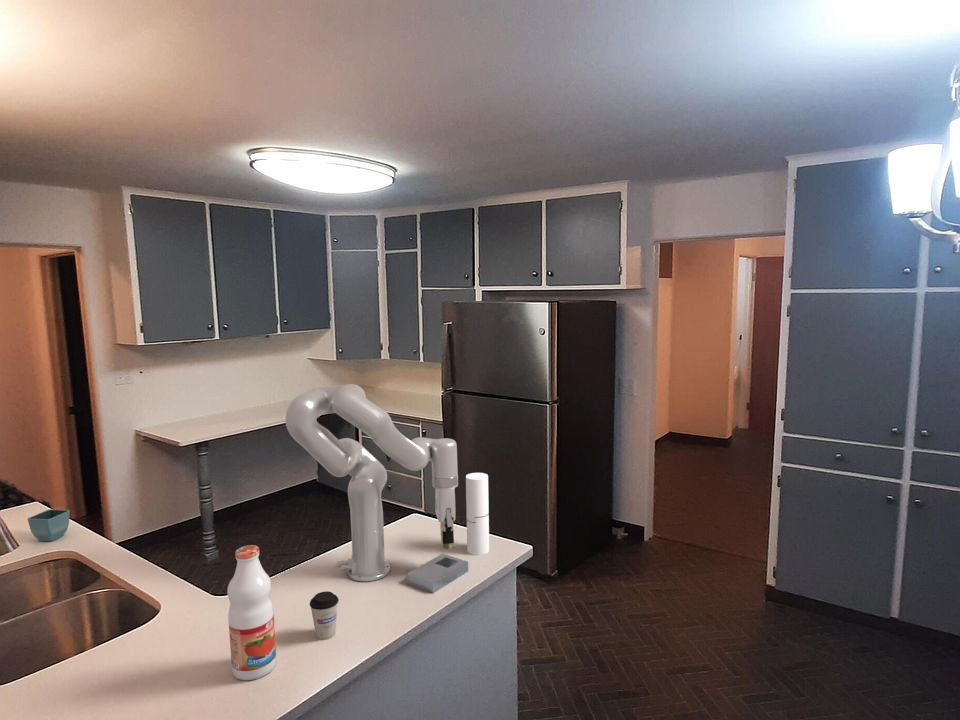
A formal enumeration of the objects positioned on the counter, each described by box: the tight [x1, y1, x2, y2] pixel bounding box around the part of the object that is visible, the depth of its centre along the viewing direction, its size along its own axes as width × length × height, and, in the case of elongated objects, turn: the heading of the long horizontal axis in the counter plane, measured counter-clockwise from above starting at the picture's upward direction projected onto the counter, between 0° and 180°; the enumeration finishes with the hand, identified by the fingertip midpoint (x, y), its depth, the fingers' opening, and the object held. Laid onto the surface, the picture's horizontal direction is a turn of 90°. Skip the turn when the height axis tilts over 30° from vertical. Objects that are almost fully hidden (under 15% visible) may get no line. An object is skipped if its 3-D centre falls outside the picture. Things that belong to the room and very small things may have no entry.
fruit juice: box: [226, 544, 277, 681], centre depth 131 cm, size 9×9×28 cm
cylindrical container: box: [465, 472, 490, 556], centre depth 190 cm, size 7×7×25 cm
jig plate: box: [406, 553, 469, 594], centre depth 173 cm, size 16×10×3 cm, turn 143°
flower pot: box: [27, 509, 70, 542], centre depth 205 cm, size 9×9×9 cm
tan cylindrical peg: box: [440, 519, 455, 550], centre depth 175 cm, size 4×4×8 cm
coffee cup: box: [309, 590, 340, 641], centre depth 145 cm, size 7×7×10 cm
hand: (447, 539), depth 176 cm, fingers closed on tan cylindrical peg, 3 cm apart
